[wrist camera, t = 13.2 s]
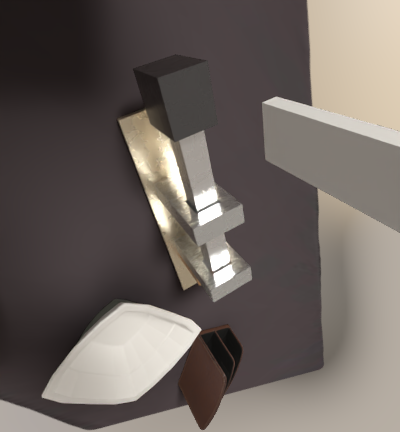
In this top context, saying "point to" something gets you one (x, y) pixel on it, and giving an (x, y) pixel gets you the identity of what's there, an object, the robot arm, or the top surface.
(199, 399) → the letter holder
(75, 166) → the top surface
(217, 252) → the shaft
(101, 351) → the bowl
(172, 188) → the frame
